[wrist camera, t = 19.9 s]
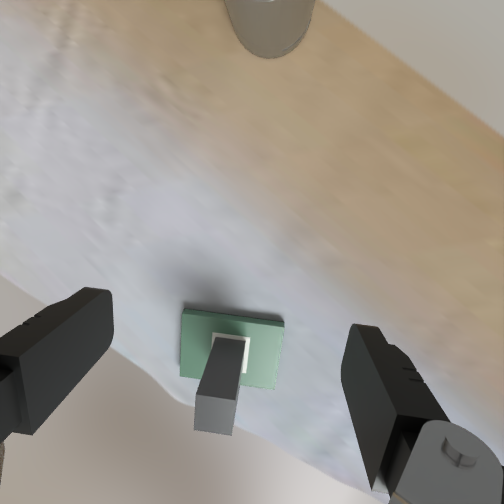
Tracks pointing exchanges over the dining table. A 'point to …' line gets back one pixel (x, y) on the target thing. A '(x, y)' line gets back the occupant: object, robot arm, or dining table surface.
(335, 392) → the dining table surface
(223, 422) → the block
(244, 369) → the board
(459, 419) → the dining table surface
